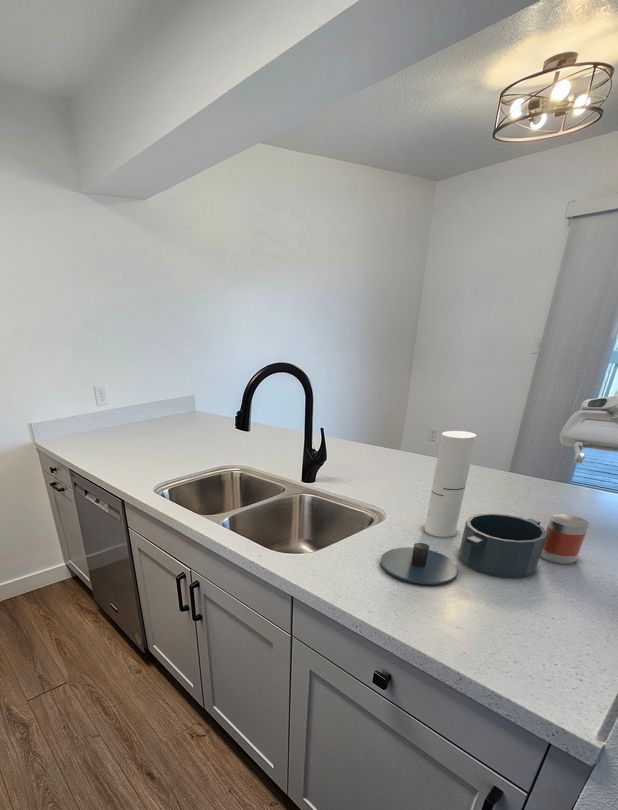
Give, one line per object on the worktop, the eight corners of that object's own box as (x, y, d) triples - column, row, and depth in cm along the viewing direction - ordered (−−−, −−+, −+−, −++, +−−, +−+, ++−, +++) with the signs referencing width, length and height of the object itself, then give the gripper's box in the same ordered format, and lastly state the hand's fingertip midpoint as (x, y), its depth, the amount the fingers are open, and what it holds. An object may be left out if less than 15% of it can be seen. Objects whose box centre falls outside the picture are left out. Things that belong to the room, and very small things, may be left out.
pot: (559, 564, 95) (571, 529, 91) (495, 588, 88) (505, 551, 84) (496, 538, 107) (504, 506, 103) (436, 557, 100) (442, 524, 96)
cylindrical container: (453, 539, 108) (475, 439, 97) (422, 533, 111) (440, 436, 100) (456, 528, 113) (477, 432, 102) (426, 523, 117) (443, 429, 105)
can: (582, 559, 96) (596, 522, 92) (563, 567, 94) (576, 529, 90) (551, 547, 101) (562, 511, 97) (532, 554, 99) (543, 518, 95)
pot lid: (473, 575, 93) (479, 552, 90) (418, 594, 88) (423, 570, 85) (416, 545, 106) (420, 525, 103) (365, 561, 101) (368, 539, 98)
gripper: (694, 427, 91) (667, 483, 90) (574, 416, 105) (549, 464, 104) (701, 408, 86) (672, 467, 85) (575, 399, 100) (549, 450, 99)
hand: (603, 465), depth 95 cm, fingers open, 8 cm apart
